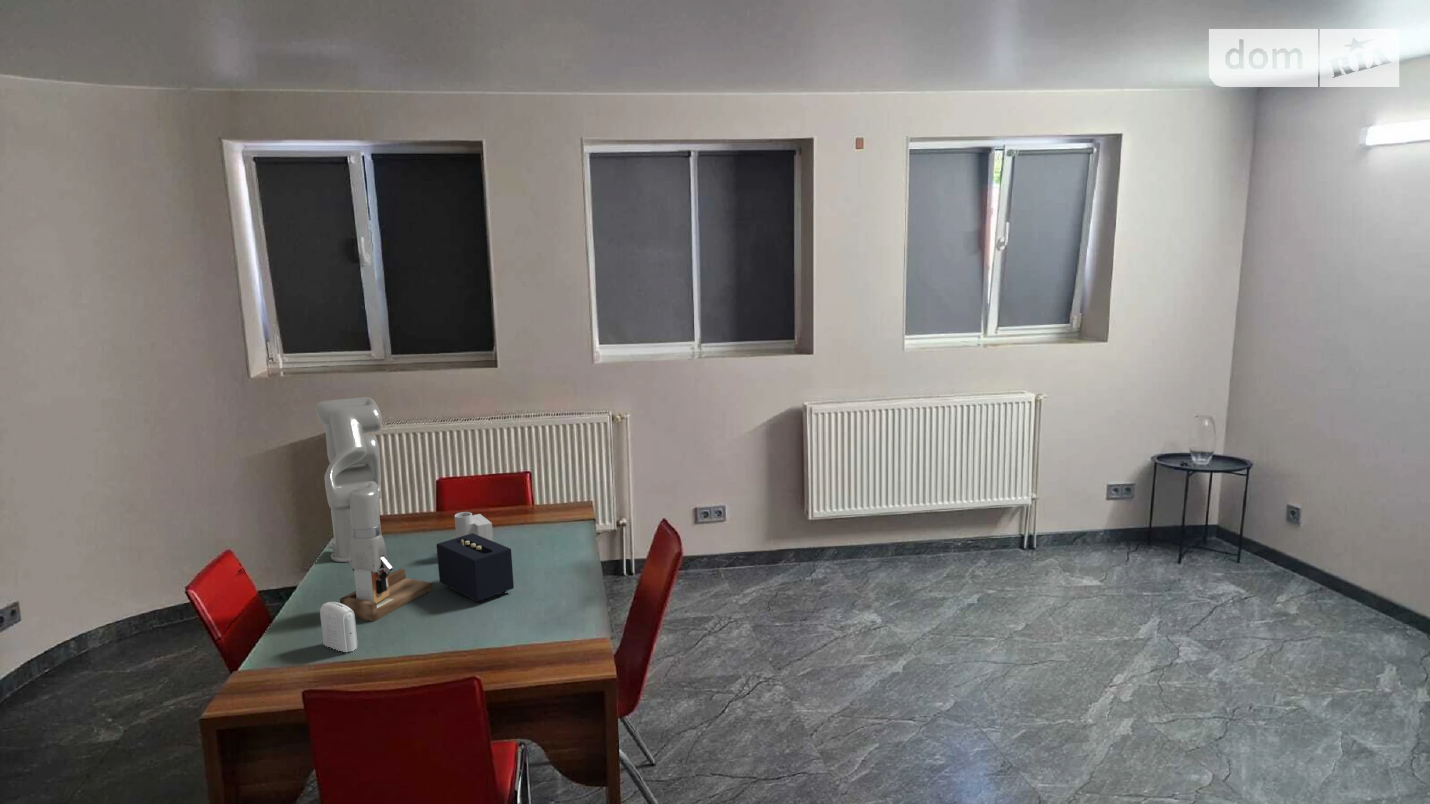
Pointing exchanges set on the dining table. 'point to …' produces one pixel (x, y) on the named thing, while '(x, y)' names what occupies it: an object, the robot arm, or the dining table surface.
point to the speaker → (475, 566)
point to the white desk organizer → (473, 525)
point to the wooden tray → (388, 597)
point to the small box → (368, 586)
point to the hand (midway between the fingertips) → (372, 589)
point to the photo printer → (338, 627)
